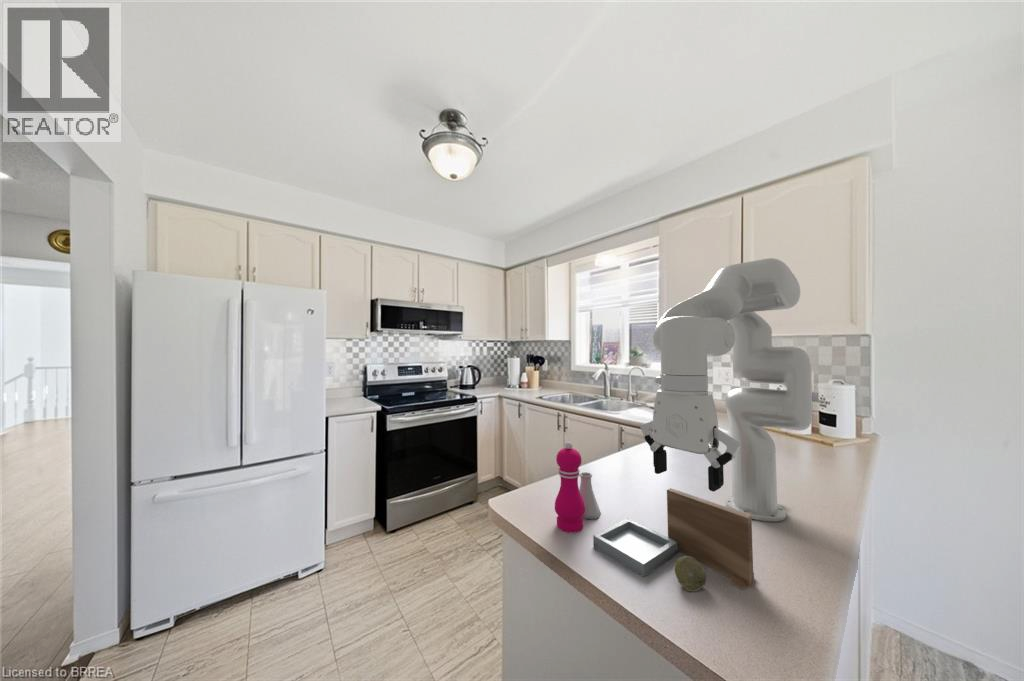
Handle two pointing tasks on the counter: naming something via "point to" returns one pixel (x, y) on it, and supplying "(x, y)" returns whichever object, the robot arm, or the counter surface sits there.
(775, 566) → the counter surface
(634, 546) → the slate dish
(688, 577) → the lime
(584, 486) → the flask
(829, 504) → the counter surface
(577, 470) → the pepper mill
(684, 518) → the walnut board
